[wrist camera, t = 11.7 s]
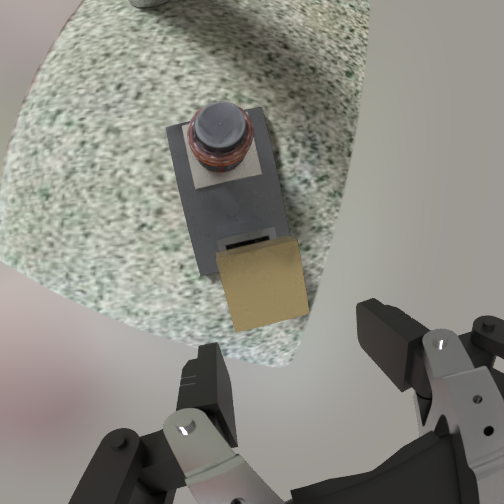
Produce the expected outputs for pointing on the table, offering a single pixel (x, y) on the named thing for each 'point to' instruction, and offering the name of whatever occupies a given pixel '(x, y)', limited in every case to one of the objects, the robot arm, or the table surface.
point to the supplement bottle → (220, 136)
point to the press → (229, 196)
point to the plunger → (263, 282)
